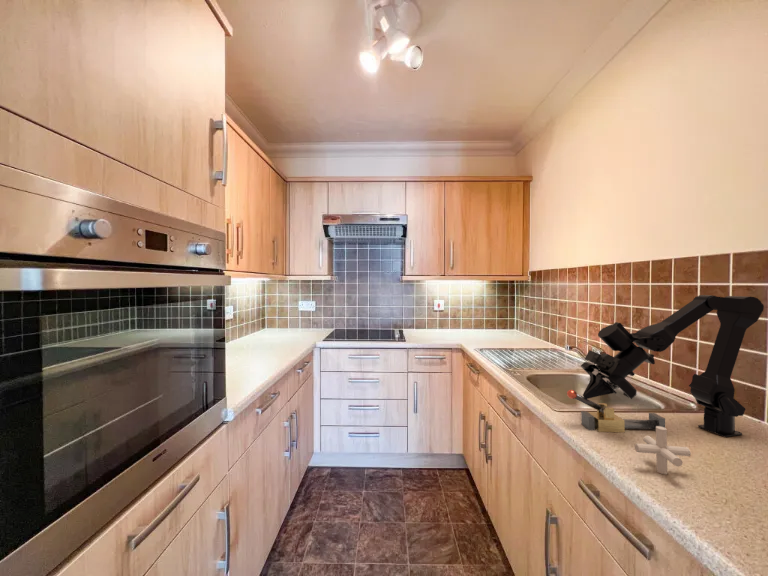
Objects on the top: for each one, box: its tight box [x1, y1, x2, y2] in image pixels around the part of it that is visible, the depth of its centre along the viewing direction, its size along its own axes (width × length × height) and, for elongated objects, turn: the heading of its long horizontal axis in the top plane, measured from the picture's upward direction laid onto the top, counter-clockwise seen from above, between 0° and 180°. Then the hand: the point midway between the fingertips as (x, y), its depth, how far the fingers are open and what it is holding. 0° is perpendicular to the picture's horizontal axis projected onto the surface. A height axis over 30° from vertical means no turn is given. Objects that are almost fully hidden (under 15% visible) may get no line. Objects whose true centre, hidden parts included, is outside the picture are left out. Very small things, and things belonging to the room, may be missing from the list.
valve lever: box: [566, 389, 608, 415], centre depth 93 cm, size 3×3×13 cm
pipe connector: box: [633, 426, 692, 475], centre depth 70 cm, size 10×10×10 cm
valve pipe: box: [580, 402, 666, 434], centre depth 92 cm, size 21×6×6 cm, turn 84°
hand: (584, 397), depth 93 cm, fingers closed, pressing on valve lever
